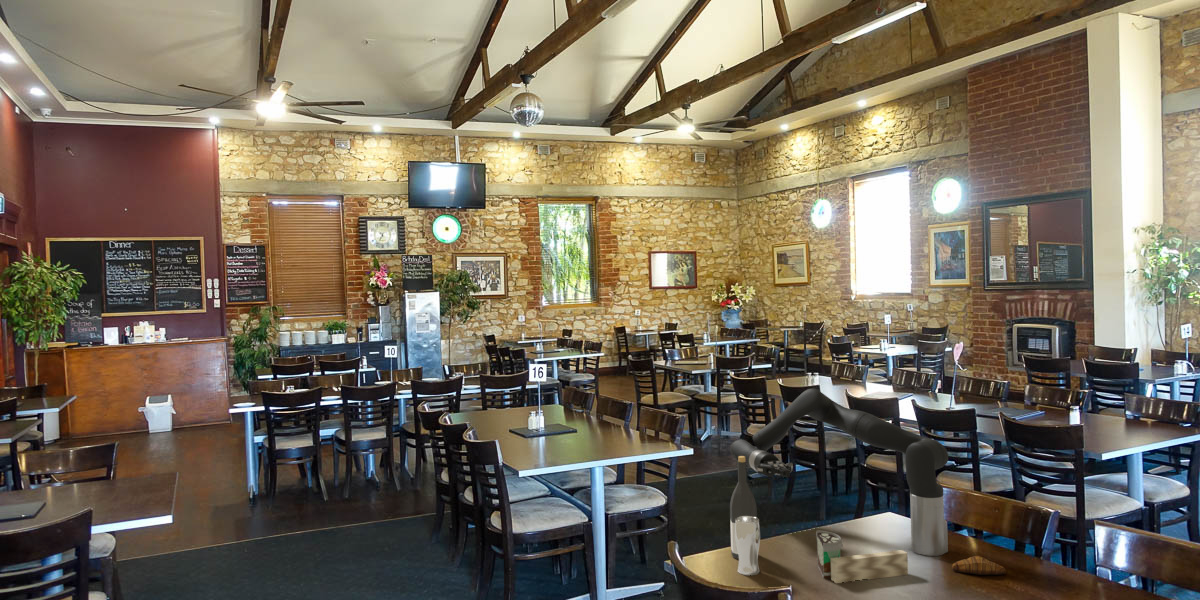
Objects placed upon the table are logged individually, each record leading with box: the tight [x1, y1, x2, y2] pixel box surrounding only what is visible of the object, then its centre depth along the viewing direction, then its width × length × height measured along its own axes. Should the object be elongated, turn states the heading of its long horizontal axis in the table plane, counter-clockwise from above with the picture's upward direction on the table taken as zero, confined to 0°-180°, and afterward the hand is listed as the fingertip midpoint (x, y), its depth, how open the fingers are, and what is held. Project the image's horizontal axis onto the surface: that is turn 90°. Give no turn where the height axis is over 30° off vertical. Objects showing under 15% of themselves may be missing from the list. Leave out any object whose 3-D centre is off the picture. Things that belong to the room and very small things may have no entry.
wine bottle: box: [729, 456, 758, 560], centre depth 221 cm, size 8×8×30 cm
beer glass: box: [735, 516, 761, 576], centre depth 209 cm, size 7×7×15 cm
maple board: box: [830, 550, 909, 584], centre depth 202 cm, size 22×2×6 cm, turn 102°
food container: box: [815, 530, 844, 579], centre depth 206 cm, size 12×6×10 cm, turn 173°
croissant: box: [951, 555, 1006, 576], centre depth 203 cm, size 14×7×5 cm, turn 75°
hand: (787, 473), depth 231 cm, fingers closed
